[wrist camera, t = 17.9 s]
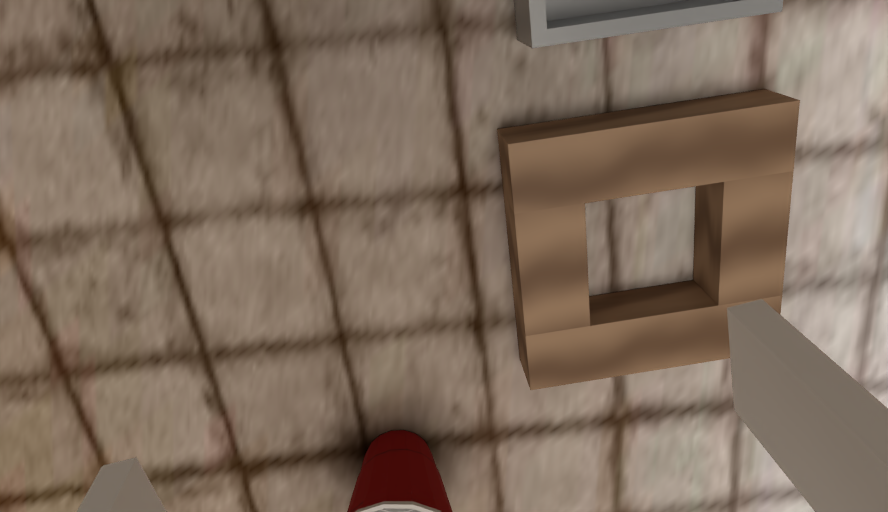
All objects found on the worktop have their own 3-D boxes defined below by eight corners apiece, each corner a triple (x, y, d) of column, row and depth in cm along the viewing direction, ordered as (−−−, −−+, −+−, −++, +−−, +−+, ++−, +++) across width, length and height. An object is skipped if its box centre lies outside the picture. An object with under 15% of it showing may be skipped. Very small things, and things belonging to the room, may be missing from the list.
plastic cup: (345, 397, 56) (336, 501, 46) (467, 413, 58) (487, 516, 47) (326, 494, 61) (314, 611, 50) (441, 506, 62) (453, 621, 51)
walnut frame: (497, 129, 48) (507, 144, 44) (764, 88, 49) (799, 100, 45) (519, 359, 56) (530, 390, 52) (748, 322, 57) (777, 350, 53)
